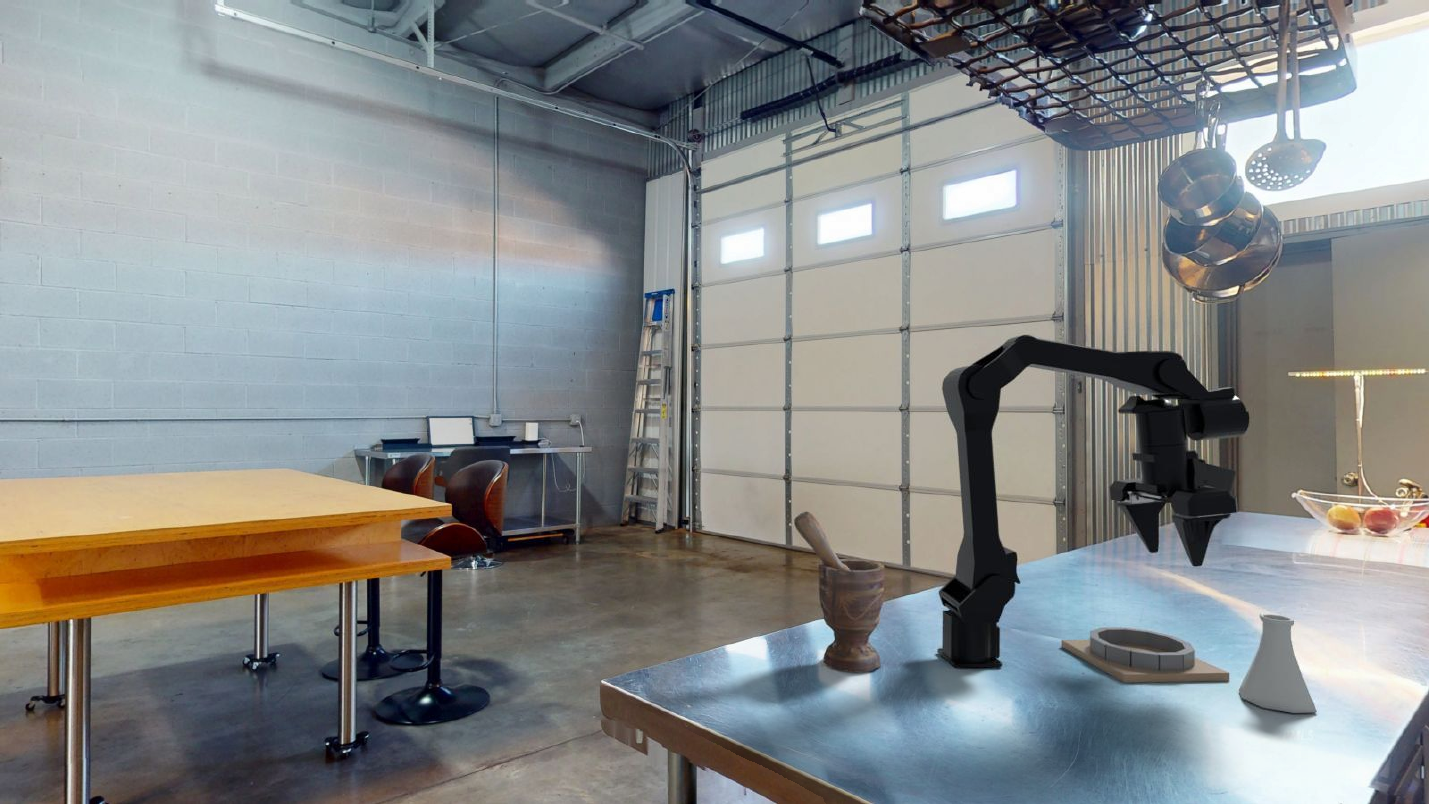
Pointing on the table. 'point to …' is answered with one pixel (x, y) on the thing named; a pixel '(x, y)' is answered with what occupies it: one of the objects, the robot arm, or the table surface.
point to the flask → (1276, 671)
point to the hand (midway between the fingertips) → (1174, 559)
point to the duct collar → (1143, 656)
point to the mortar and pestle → (846, 600)
